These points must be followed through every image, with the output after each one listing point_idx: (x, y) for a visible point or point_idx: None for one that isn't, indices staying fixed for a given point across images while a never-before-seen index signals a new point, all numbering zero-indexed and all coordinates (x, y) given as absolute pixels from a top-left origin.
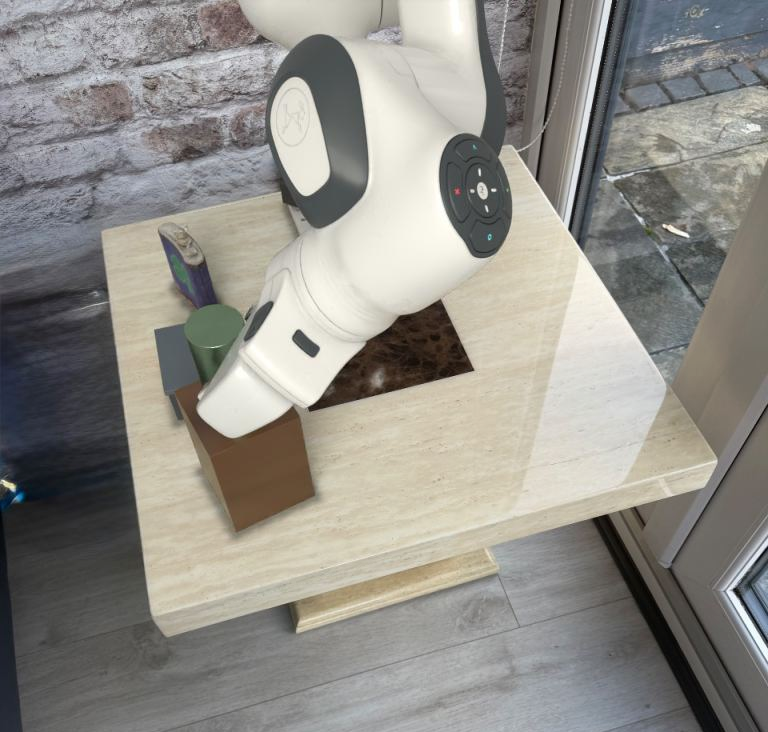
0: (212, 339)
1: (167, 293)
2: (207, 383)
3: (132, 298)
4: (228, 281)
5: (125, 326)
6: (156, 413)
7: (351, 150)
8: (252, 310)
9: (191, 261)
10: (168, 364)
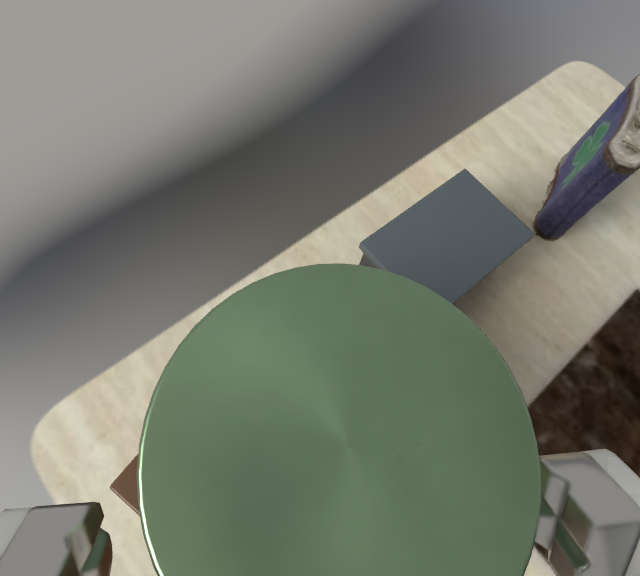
0: (224, 507)
1: (544, 155)
2: (43, 549)
3: (510, 121)
4: (615, 218)
5: (464, 135)
6: (352, 243)
7: None
8: (595, 511)
9: (617, 151)
10: (414, 221)
